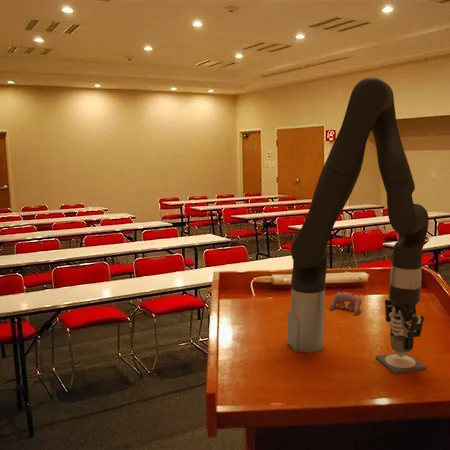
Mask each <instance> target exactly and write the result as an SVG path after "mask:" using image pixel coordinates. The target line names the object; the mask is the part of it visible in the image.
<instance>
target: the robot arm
mask: <svg viewBox="0 0 450 450" xmlns="http://www.w3.org/2000/svg"><path fill="white" fill-rule="evenodd" d="M371 133H372V136H373V138H374V142H375V149H376V150H375V151H376V158H377V163H378V169H379V173H380V177H381V180H382V184H383V188H384V190H385V193H386V206H387V216H388V221H389V223H390V226H391V228H392V229H393V231H394V232H395V233H397V234H398V235H399V236H398V240H397V241H396V243H394V245H393V249H392V259H391V269H390V273H389V274H390V275H389V276H390V277H389V288H388V289H389V290H388V291H389V292H388V298H387V299H384V310H385V322H387V323H389V327H390V332H389V333H390V334H389V335H390V338H389V340H391V337H392V336H393V335H394V334H393V333H392V328H391V326H393V325H392V324H391V322H393V321H392V318H395V317H396V316H395V315H396V314H398V315H399V317H396V319H397V320H401V326H402V328H404V332H403V333H404V334H405V336H404V347H403V349H404V350H406V351H407V350H410V351H412V350H413V348H414V340H415V339H414V338H418V337H419V338H420V337H421V334H422V333H421V332H422V330H423V329H422V328H423V325H424V320H425V318H424V315H419V313H417V304H419V303H420V301H421V290H422V276H423V275H422V274H423V273H422V262H423V248H424V245H425V242H426V238H427V234H428V230H429V226H430V225H429V223H430V222H429V221H430V220H429V213H428V210H427V209H426V207H424V206H423V205H421V204H419V203H414V201H413V200H414V199H413V193H414V192H415V189H416V185H415V180H414V177H413V174H412V171H411V168H410V164H409V161H408V158H407V155H406V152H405V149H404V145H403V143H402V139H401V135H400V130H399V127H398V121H397V115H396V106H395V99H394V91H393V89H392V87H391V86H390V85H389V84H388V83H387V82H386V81H384V80H382V79H380V78H378V77H373V76H369V77H365V78H363V79H361V80H359V81H358V83H356V84H355V86H354V87H353V88H352V91H351V93H350V95H349V100H348V103H347V106H346V110H345V114H344V117H343V120H342V123H341V126H340V128H339V131H338V133H337V135H336V138H335V140H334V142H333V145H332V146H331V149H330V151H329V153H328V156H327V158H326V160H325V163H324V165H323V167H322V169H321V172H320V175H319V176H318V180H317V182H316V185H315V189H314V192H313V195H312V199H311V201H310V202H311V203H310V206H309V209H308V212H307V215H306V217H305V220H304V222H303V224H302V226H301V227H300V229H299V231H298V232H297V234H296V236H295V237H294V239H293V241H292V242H291V246H290V255H291V258H292V274H291V279H290V280H291V282H290V284H291V285H290V287H291V288H290V289H291V291H290V311H288V312H287V344H288V345H289V346H290V347H291V349H292V350H293V351H294V352H296V353H297V352H301V353H316V352H319V351H321V350H322V349H323V348H324V347H323V346H324V329H325V328H324V326H325V325H324V323H325V299H326V297H325V295H326V278H327V262H328V261H327V259H328V257H327V256H328V243H329V241H330V236H331V234H332V231H333V229H334V226H335V224H336V223H337V220H338V218H339V216H340V215H341V213H342V211H343V210H344V208H345V206H346V205H347V202H348V200H349V198H350V196H351V194H352V193H353V191H354V188H355V186H356V183H357V181H358V179H359V177H360V174H361V171H362V168H363V163H364V157H365V151H366V146H367V143H368V139H369V136H370V134H371ZM405 321H406V322H407V321H411V324H406V323H405ZM409 327H410V332H408V328H409ZM398 329H401V328H398ZM395 332H398V333H400V332H399V331H395Z"/></svg>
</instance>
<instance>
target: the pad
mask: <svg viewBox="0 0 450 450" xmlns="http://www.w3.org/2000/svg"><path fill="white" fill-rule="evenodd" d="M375 360H377V361H378V362H379V363H380V364H381V365H382V366H384V367H385V368H386V369H387V370H389V372H391V373H392V374H394V375H399V374H406V373H412V372H418V371H425V370H426V367H427V366H426V365H424V364H423V363H421V362H420V361H419V360H418V359H416V358H415V357H413V356H412V355H410V354H409V352H406V355H405V356H403V357H399V356H398V355H397V354H396V352H395V353H387V354H386V353H385V354H380V355H379V354H378V355H375Z"/></svg>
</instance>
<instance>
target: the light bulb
mask: <svg viewBox="0 0 450 450" xmlns="http://www.w3.org/2000/svg"><path fill="white" fill-rule="evenodd" d="M395 316H396V317H399V315H398V314H396V315H395ZM396 317H395V318H392V321H393V322H391V324H392V325H393V326H391V327H390V329H391V328H392V333H393V334H394V335H393V336H392V337H391V339H390V347H391V349H392V350H394V351H395V353H396V354H397V355H398V356H399V357H403V356H405V355H406V353H409V352H411V350H407V351H406V350H404V349H403V347H404V336H405V334H404V328H402V326H401V320H397V319H396ZM405 323H406V324H411V321H407V322H406V321H405ZM398 328H400V329H398ZM395 331H399V333H398V332H395ZM408 332H410V327H408Z"/></svg>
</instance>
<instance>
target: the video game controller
mask: <svg viewBox="0 0 450 450" xmlns="http://www.w3.org/2000/svg"><path fill="white" fill-rule="evenodd" d="M347 302H348V304H347V306H346V303H347ZM362 302H363V301H362V298H361V297H360V296H358V295H357V294H355V293H351V292H345V291H343V292H336V293H335V294H334V295H333V297H332V298H331V301H330V303H329V310H330V311H333V310H335V308H336V306H337V307H338V309H341V310H344V309H345V308H346V309H347V310H348V311H349V312H352V311H353V314H354V315H355V316H357V315H358V314H359V312H360V309H361V305H362Z"/></svg>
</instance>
